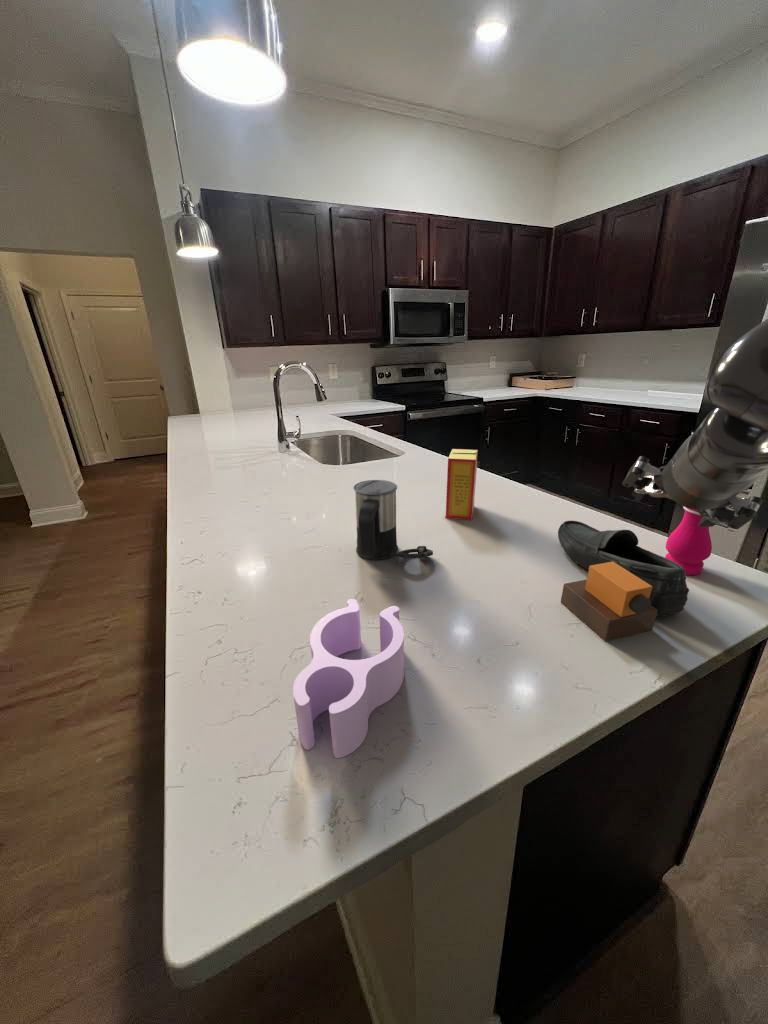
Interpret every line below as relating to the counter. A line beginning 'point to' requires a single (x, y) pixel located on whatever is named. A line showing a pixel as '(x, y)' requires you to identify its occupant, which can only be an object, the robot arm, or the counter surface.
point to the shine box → (604, 614)
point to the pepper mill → (689, 543)
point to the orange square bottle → (618, 589)
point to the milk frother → (379, 522)
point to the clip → (347, 677)
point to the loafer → (627, 562)
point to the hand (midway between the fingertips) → (670, 507)
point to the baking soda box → (461, 483)
